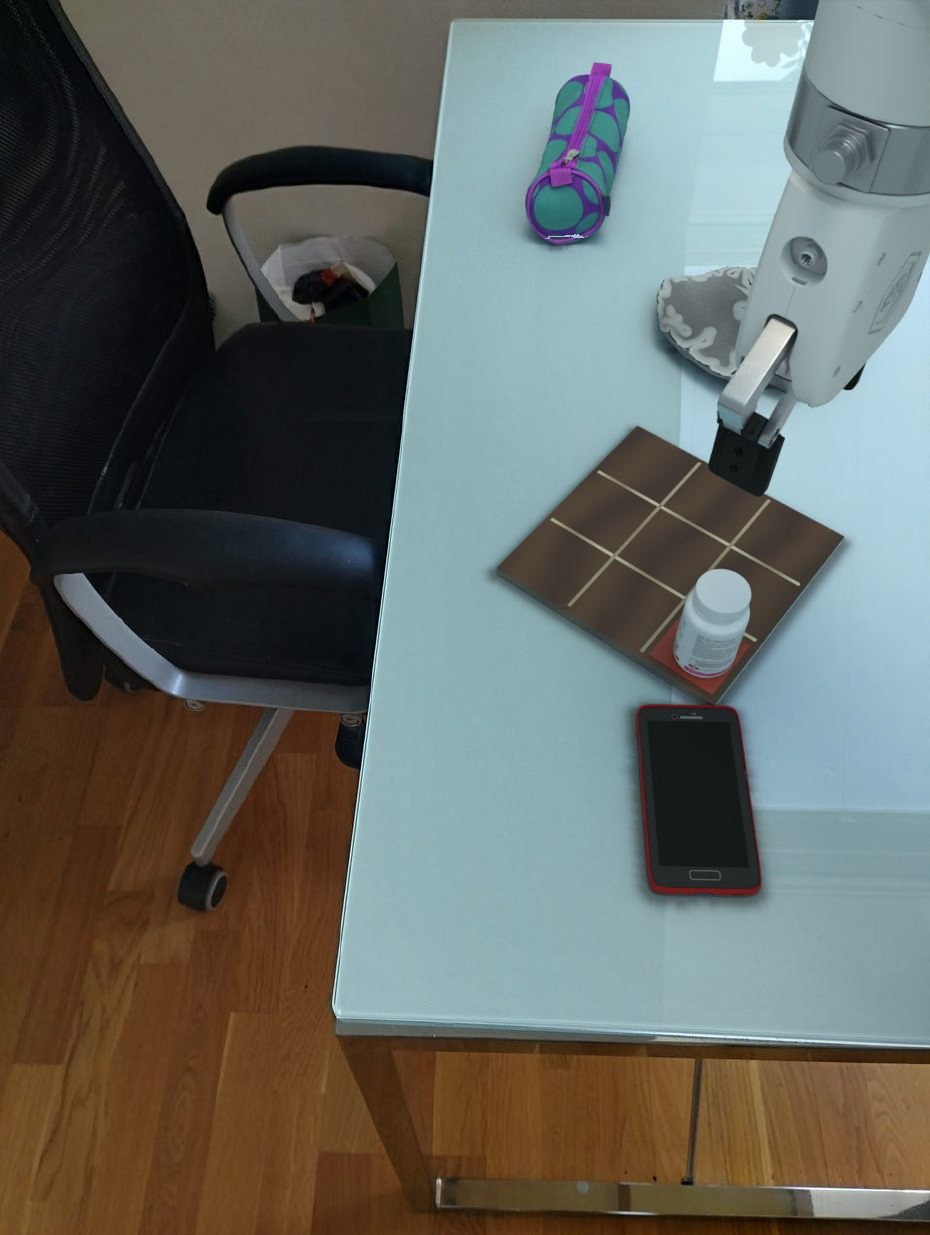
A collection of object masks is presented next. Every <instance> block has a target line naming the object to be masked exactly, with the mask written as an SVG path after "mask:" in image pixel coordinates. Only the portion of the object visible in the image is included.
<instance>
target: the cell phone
mask: <svg viewBox="0 0 930 1235" xmlns="http://www.w3.org/2000/svg"><path fill="white" fill-rule="evenodd" d="M635 716H636V717H635V728H636V738H637V739H638V752H639V764H640V765H639V781H640V793H641V806H642V807H641V808H642V819H643V831H644V833H643V834H644V845H645V859H646V871H647V872H646V873H647V879H648V884H649V888H650V889H651V891H653V892H654V893H657V894H659V895H660V894H661V895H671V896H672V895H673V896H675V895H682V896H695V895H696V894H712V896H713V897H715V896H717V897H749V896H754V895H757V894H758V893H759V892H760V890H761V889H762V884H763V883H762V881H763V880H762V870H761V869H762V868H761V862H760V856H759V846H758V840H757V833H756V826H755V817H754V811H753V805H752V804H753V803H752V797H751V790H750V784H749V777H748V775H749V774H748V769H747V762H746V755H745V754H746V753H745V747H744V741H743V733H742V726H741V721H740V717H739V714H738V711H737V709H735V708H734V707H732V706H729V705H719V704H718V705H702V704H674V703H673V704H671V703H670V704H668V703H667V704H663V703H650V704H643V705H641V706H639V707H638V709H637V711H636V715H635Z"/></svg>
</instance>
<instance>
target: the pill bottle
mask: <svg viewBox="0 0 930 1235" xmlns="http://www.w3.org/2000/svg"><path fill="white" fill-rule="evenodd" d="M750 600H751V589H750V586H749V584H748V582H747V581H746V580H745V579H744V578H743V577H742V576H741V575H739V574H738V573H736V572H733V571H730V570H726V569H714V570H710V571H708V572H706V573H704V574H703V575H702V576H701V577H700V578H699V579H698V581H697V583H696V586H695V589H694V590H693V591H692V592H691V593H690V594H689V596H688V598H687V600H686V602H685V606H684V609H683V612H682V616H681V619H680V623H679V627H678V630H677V634H676V637H675V640H674V646H673V653H674V657H675V659H676V661H677V663H678V664H679V665H680V667H681V668H682V669H683V670H685V671H686V672H688V673H689V674H691V675H694V676H697V677H701V678H712V677H717V676H719V675H722V674H723V673H725V672H726V671H727V670H728V669H729V668H730V667H731V665H732V664H733V661H734V659H735V656H736V653H737V651H738V648H739V645H740V642H741V640H742V637H743V634H744V632H745V629H746V627H747V624H748V621H749V617H750V609H749V604H750Z"/></svg>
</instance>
